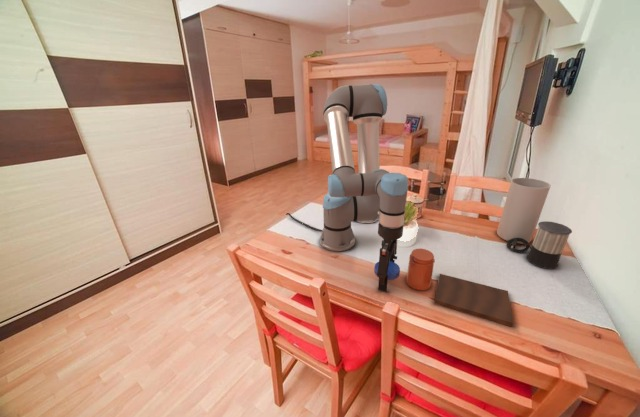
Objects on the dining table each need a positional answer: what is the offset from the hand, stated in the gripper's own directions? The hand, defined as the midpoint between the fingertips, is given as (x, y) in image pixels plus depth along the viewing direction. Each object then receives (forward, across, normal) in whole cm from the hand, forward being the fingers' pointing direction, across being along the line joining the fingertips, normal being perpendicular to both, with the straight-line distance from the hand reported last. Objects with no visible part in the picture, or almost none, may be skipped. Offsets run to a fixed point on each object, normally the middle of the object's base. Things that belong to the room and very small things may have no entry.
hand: (385, 282), depth 90 cm
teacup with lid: (0, -59, -1) cm, 59 cm away
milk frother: (+1, -39, +46) cm, 60 cm away
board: (+1, -4, +26) cm, 26 cm away
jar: (0, -5, +10) cm, 11 cm away
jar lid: (-6, 0, 0) cm, 6 cm away
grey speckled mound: (0, -46, -28) cm, 54 cm away
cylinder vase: (0, -53, +42) cm, 68 cm away
